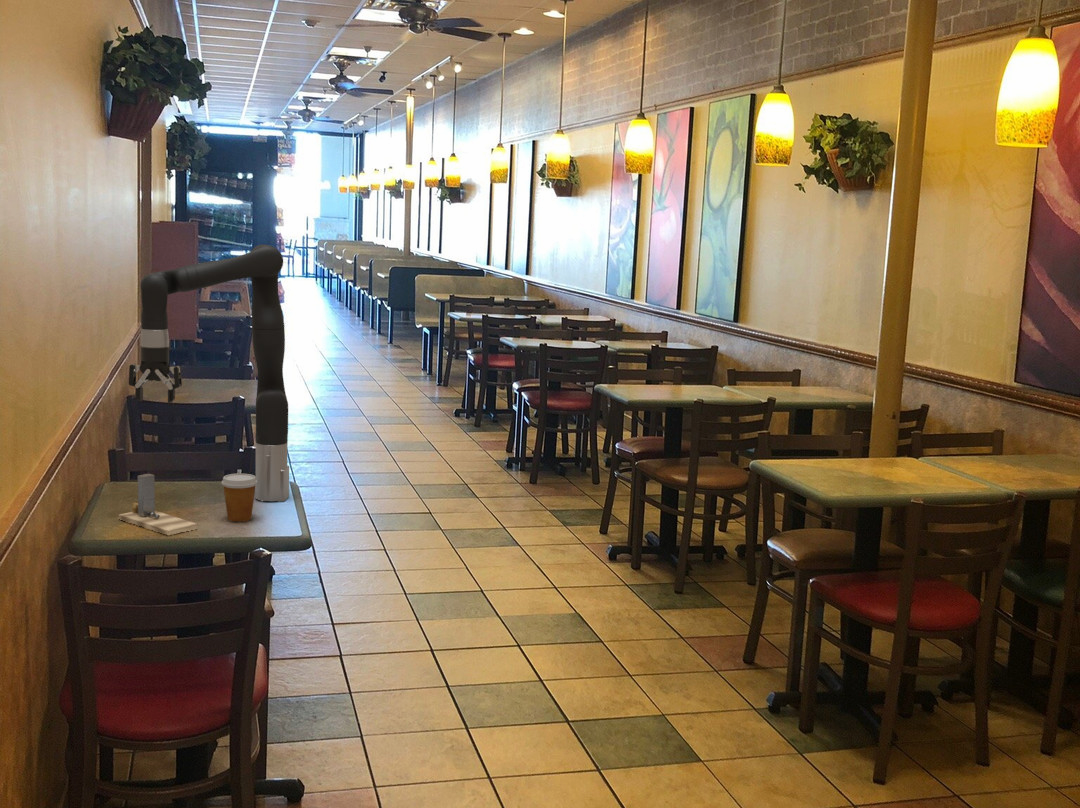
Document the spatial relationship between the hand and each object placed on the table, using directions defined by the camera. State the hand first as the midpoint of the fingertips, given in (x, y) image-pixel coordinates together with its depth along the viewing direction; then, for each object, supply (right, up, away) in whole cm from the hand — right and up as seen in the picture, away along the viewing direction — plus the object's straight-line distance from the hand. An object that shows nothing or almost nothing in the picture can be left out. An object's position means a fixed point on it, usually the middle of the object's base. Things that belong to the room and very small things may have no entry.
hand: (155, 401), depth 302 cm
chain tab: (+2, -31, -13) cm, 34 cm away
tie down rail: (+6, -33, -15) cm, 37 cm away
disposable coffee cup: (+25, -33, -6) cm, 42 cm away
